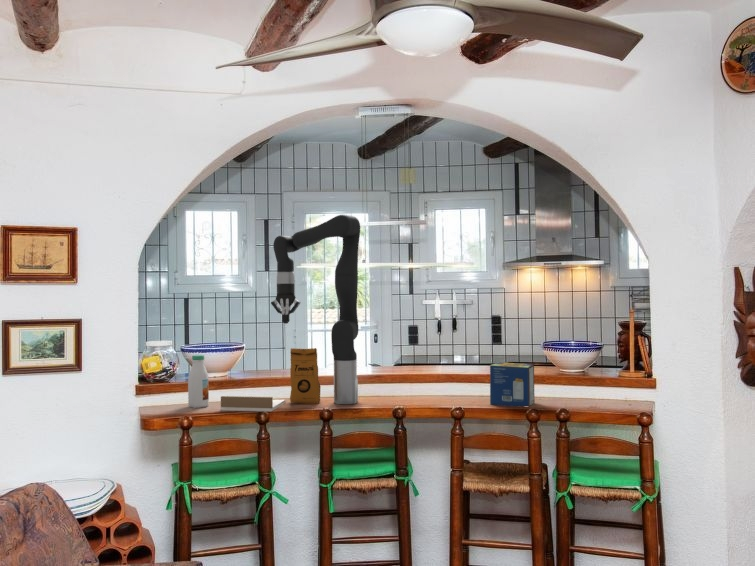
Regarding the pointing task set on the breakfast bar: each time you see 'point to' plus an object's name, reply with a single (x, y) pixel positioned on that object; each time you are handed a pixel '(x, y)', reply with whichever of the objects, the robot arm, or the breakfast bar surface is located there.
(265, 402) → the board
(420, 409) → the breakfast bar surface
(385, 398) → the breakfast bar surface
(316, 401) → the coffee package
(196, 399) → the milk bottle
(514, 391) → the protein box
